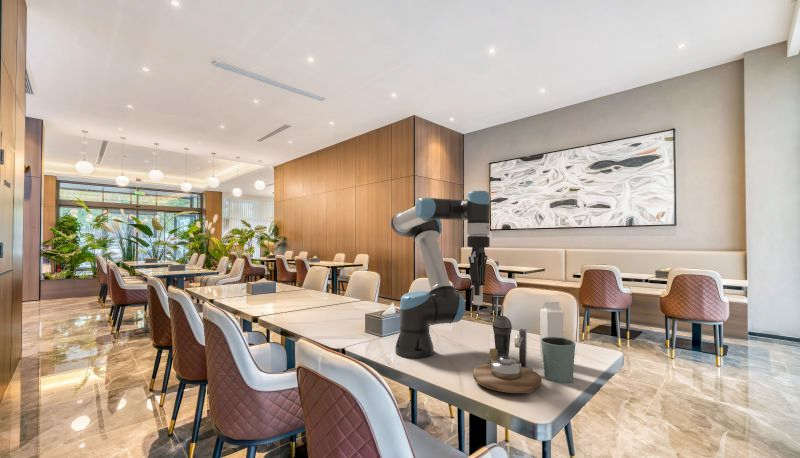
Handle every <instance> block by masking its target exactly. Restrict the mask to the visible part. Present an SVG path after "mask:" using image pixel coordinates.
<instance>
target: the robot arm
mask: <svg viewBox="0 0 800 458" xmlns="http://www.w3.org/2000/svg"><path fill="white" fill-rule="evenodd" d="M466 197H467V198H466V199H455V198H453V199H452V198H437V197H436V198H435V197H434V198H433V197H420V198H418V199H417V201H416V204H415V206H413V207H411V208H409V209H407V210H405V211H404V210H401V211H398V212H396V213H395V214H393V216H392V217H391V220H390V227H391V229H392V231H393V232H394V233H395V234H397V235H398V236H401V237H403V238H404V237H406V238H414V241H415V243H416V245H419V249H420V252H421V256H422V260H423V261H422V262H423V265H424V269H425V273H426V277H427V281H428V284H429V289H430V290H429V291H426V290H421V291H411V292H407V293H404V294H403V295H402V296H401V297H400V304H399V334H398V337H397V340H396V344H395V346H394V347H395V350H394V351H395V355H396V354H397V355H398V356H400V357H404V358H409V359H422V358H423V359H424V358H427V357H431V356H432V355H434V352H435V351H434V350H435V349H434V347H435V346H434V344H433V340H432V337H431V334H430V325H443V324H453V323H458V322H460V321H462V320H463V317H464V316H465V311H466V301H465V298H464V296H463V294H462V293H459V292H457V291H456V288H455V286H454V285H451V283H450V279H449V277H448V276H449V275H448V273H447V269H446V265H445V262H444V258H443V255H442V252H441V247H440V244H439V241H438V240H439V238H440V236H441V234H442V230H443V229H442V228H443V227H442V222H441V220H451V221H458V222H459V221H461V222H462V221H467V224H466V225H467V226H466V227H467V228H466V231H467V232H466V235H468V236H467V240H466V243H467V245H466V246H467V247H468V248H471V252H470V256H468V262H469V270H470V271H469V273H470V286H473V305H476V306H483V303H484V302H483V299H484V298H483V297H484V295H483V293H484V292H483V291H484V289H483V288H484V286H486V275H487V274H486V272H487V271H486V270H487V260H488V255H486V251H485V248H489V247H490V240H491V239H490V237H489V236H488V235H490V229H491V228H492V226H491V225H490V218H491V217H490V216H491V201H490V199H491V198H490V193H489V191H487V190H471V191H469V192H468V193H467V196H466Z"/></svg>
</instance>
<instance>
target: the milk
mask: <svg viewBox="0 0 800 458" xmlns="http://www.w3.org/2000/svg"><path fill="white" fill-rule="evenodd" d="M564 332H565V331H564V311H563V309H562V308H561V306H560V302H559V301H543V306H542V307H541V308H539V333H540V334H539V337H540V338H539V343H540V344H539V346H540V347H539V348H540V350H539V352H540V353H539V354H540V355H539V357H540V361H541V362H543V353H542V344H541V339H542V338H545V337H561V338H565V337H564Z"/></svg>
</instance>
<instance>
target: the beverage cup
mask: <svg viewBox="0 0 800 458" xmlns="http://www.w3.org/2000/svg"><path fill="white" fill-rule="evenodd" d="M492 329H493V330H492V331H493V339H494V349H497V350H498V358H499V357H500V356H508V357H509V356H510V346H511V345H510V344H511V334H512V329H513V326H512V322H511V320H510V318H508V317H507V316H505V315H504V304H502V305H501V315H498V316H496V317H495V318H494V320H493V323H492Z"/></svg>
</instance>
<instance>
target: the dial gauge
mask: <svg viewBox="0 0 800 458" xmlns="http://www.w3.org/2000/svg"><path fill="white" fill-rule="evenodd" d="M527 330H528V329H526V328H525V329H524V328H520V329H519V330H518V331H519V332H518V334H515V336H514V348H517V349H518V351H519V352H518V354H519V355H518V357H519V358H518V359H519V361H518V362H520V363H521V366H522V367H525V368H528V369H530V370H533V367H531V366H527V365H528V364H527V361H528V360H527V359H528V358H527V357H528V356H527V355H528V354H527V353H528V352H527V351H528V349H527V348H528V347H527V345H528V343H527V342H528V341H527V340H528V339H527V336H528V335H527V334H528V333H527Z"/></svg>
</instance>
